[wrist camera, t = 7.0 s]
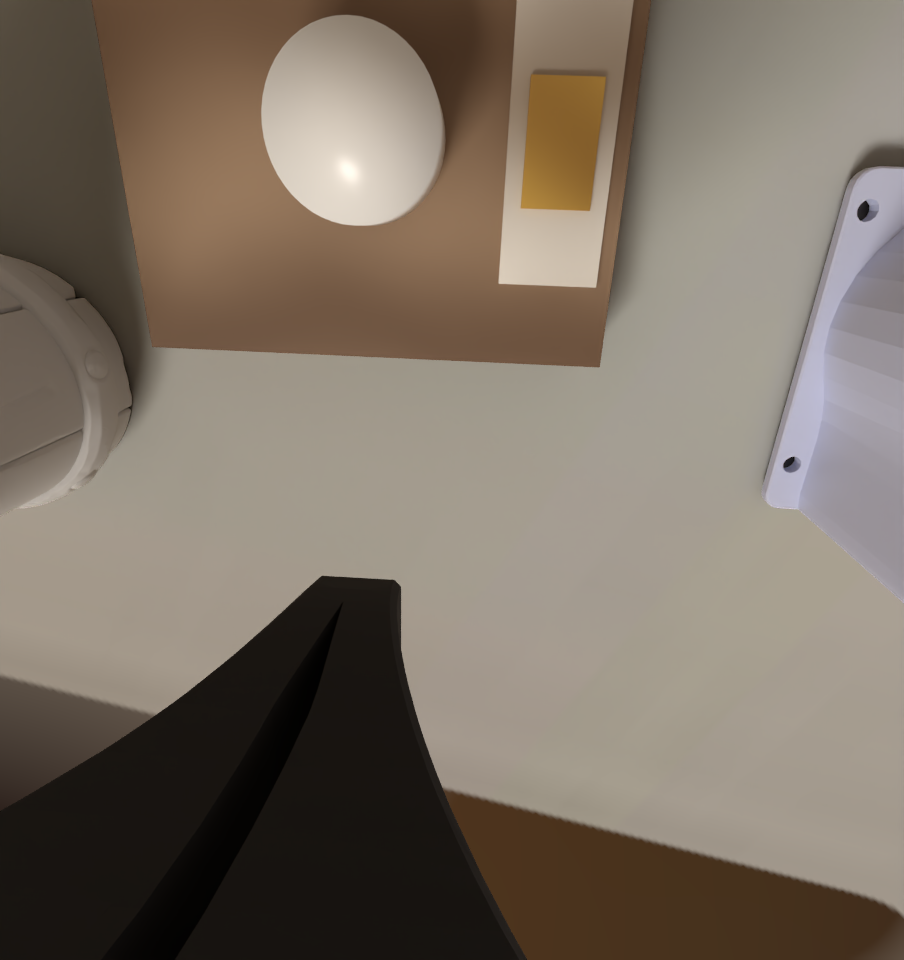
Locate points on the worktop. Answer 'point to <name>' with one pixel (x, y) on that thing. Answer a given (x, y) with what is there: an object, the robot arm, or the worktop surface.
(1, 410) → the mug
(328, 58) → the button
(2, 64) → the worktop surface
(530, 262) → the button board
